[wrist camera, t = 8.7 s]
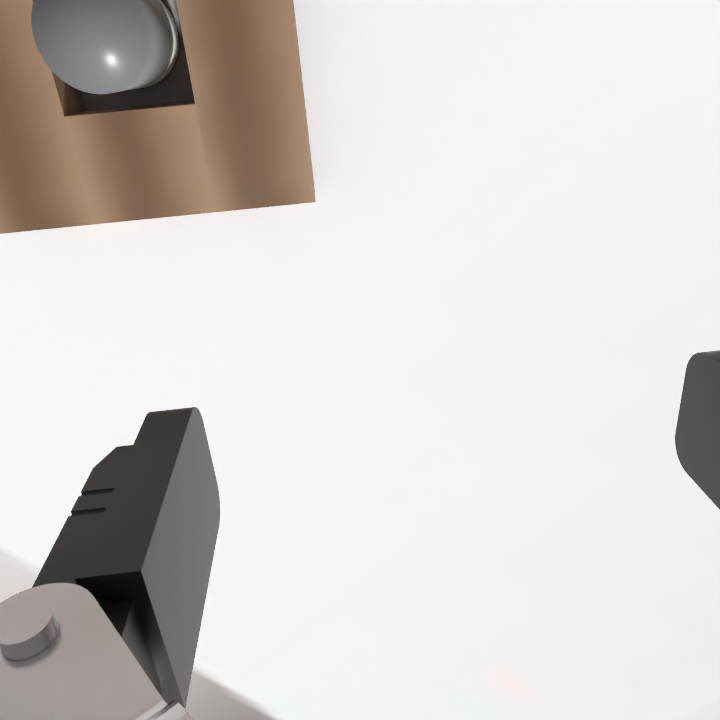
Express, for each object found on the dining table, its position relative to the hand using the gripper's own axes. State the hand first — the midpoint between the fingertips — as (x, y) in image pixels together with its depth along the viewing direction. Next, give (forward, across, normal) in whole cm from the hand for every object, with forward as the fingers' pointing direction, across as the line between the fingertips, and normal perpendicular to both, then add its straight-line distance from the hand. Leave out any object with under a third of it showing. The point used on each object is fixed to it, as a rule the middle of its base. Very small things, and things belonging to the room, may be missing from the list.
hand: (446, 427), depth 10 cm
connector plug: (+26, +10, -7) cm, 29 cm away
